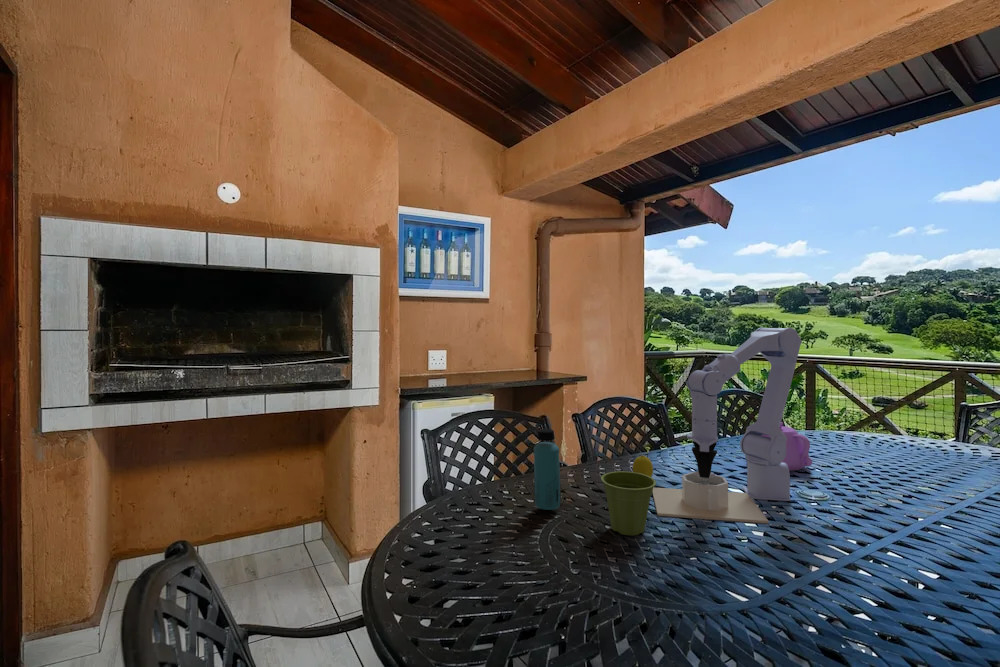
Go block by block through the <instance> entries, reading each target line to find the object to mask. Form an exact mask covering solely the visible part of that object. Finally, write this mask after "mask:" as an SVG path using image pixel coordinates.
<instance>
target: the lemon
mask: <svg viewBox="0 0 1000 667" xmlns="http://www.w3.org/2000/svg"><path fill="white" fill-rule="evenodd" d="M632 472H635V473H641V474H644V475H647V476H650V477H652V478H653V472H654V467H653V462H652V461H651V459H650V458H648V457H647V456H645V455H644V454H642V455H640V456H637V457H636V458H635V459H634V461H633V463H632Z"/></svg>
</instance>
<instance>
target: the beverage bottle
mask: <svg viewBox="0 0 1000 667" xmlns="http://www.w3.org/2000/svg"><path fill="white" fill-rule="evenodd" d="M555 438H556V437H555V431H554V429H549V428H541V429H539V430H538V431H537V440H539V441H541V442H538V443H537V444H536V445H535V446H534V447H533V466H534V467H533V468H534V469H533V470H534V471H533V479H534V481H533V494H534V496H533V497H534V499H533V500H534V504H535V507H536V508H538V509H540V510H547V511H551V510H556V509H559V508H560V506H561V503H562V502H561V501H562V497H561V476H560V475H561V474H560V471H561V470H560V469H561V468H560V467H561V465H560V448H559V446H558V444H556V443H554V442H552V441H554V440H555ZM542 441H543V442H542ZM550 441H551V442H550Z"/></svg>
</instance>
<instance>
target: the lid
mask: <svg viewBox="0 0 1000 667" xmlns="http://www.w3.org/2000/svg"><path fill="white" fill-rule="evenodd" d="M694 472H695V476H697V477H699V478H702V482H694V483H697V484H704V485H715V484H712V483H707V479H711V478H714V477H715V475H716V474H715V473H714V472H712V471H711V473H710V477H709V478H704V477H700V475H699V471H698V470H697V471H694Z"/></svg>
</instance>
